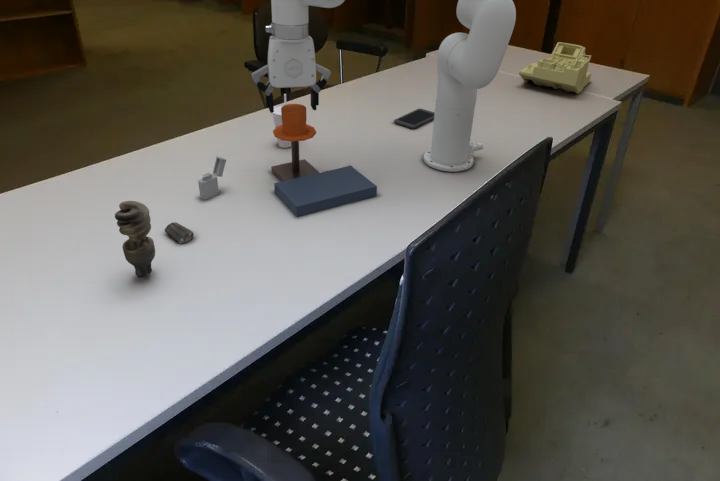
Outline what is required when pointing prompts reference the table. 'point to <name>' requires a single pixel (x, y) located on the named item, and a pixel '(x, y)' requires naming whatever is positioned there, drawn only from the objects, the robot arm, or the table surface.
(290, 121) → the hat
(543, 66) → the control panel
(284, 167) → the hat stand
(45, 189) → the table surface
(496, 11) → the robot arm
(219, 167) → the lighter
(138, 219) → the light bulb
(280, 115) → the smoothie
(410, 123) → the cell phone
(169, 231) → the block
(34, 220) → the table surface
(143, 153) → the table surface
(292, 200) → the low stand
